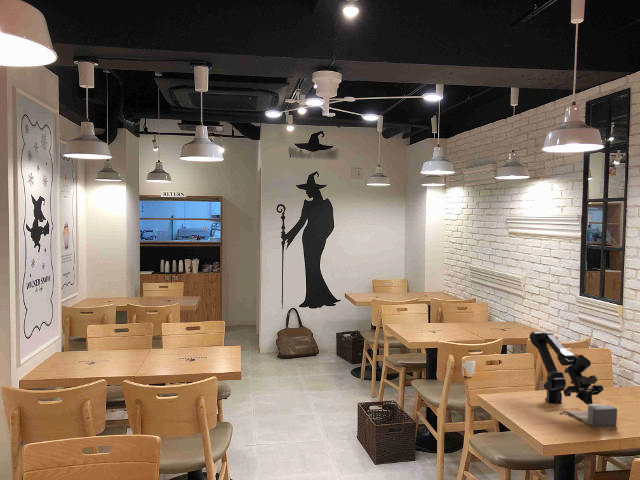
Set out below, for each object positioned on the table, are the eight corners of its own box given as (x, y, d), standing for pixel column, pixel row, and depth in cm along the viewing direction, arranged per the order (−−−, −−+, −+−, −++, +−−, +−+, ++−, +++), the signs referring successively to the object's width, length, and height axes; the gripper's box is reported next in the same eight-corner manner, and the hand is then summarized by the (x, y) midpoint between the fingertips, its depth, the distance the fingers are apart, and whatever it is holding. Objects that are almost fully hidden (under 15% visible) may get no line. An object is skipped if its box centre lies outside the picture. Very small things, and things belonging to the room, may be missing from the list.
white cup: (475, 375, 312) (476, 359, 311) (473, 378, 305) (474, 362, 304) (462, 373, 315) (463, 357, 315) (460, 376, 308) (460, 360, 308)
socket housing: (587, 422, 236) (588, 405, 236) (608, 421, 238) (608, 404, 238) (595, 427, 231) (596, 409, 231) (616, 425, 234) (617, 408, 233)
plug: (587, 418, 241) (587, 404, 240) (596, 418, 242) (596, 403, 242) (597, 423, 234) (597, 408, 234) (606, 423, 236) (607, 408, 235)
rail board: (567, 413, 250) (567, 411, 250) (584, 412, 253) (584, 410, 253) (598, 430, 230) (598, 428, 230) (617, 429, 233) (617, 426, 233)
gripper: (568, 369, 244) (583, 400, 234) (602, 368, 248) (618, 398, 237) (556, 380, 252) (571, 411, 242) (589, 379, 256) (605, 409, 245)
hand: (591, 407), depth 241 cm, fingers closed, pressing on plug
